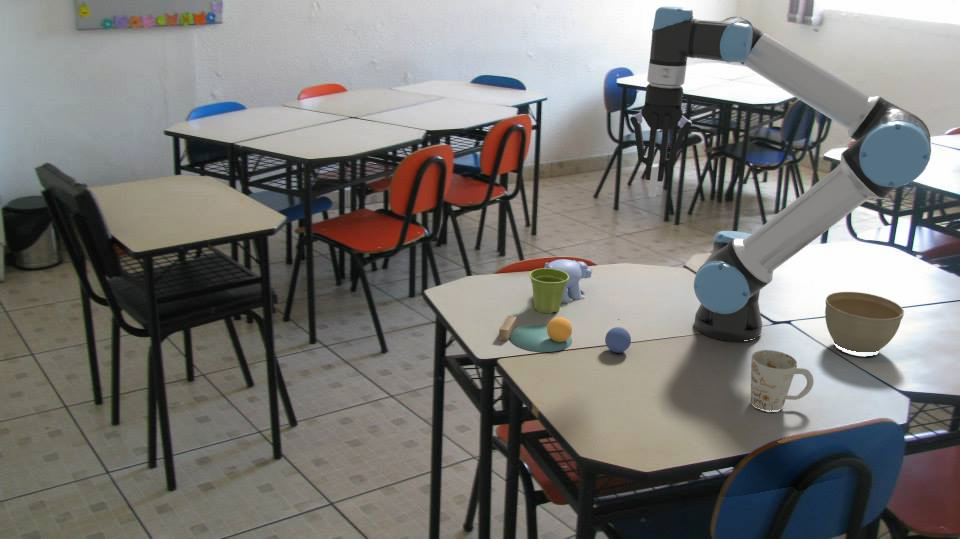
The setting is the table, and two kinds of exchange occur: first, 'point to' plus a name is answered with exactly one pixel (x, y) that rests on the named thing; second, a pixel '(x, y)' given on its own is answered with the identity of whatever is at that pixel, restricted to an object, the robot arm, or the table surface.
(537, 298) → the plant pot
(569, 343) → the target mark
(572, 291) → the hippopotamus toy
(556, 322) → the orange ball
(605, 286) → the table surface
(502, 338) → the rail
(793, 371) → the mug
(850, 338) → the planter bowl
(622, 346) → the blue ball
